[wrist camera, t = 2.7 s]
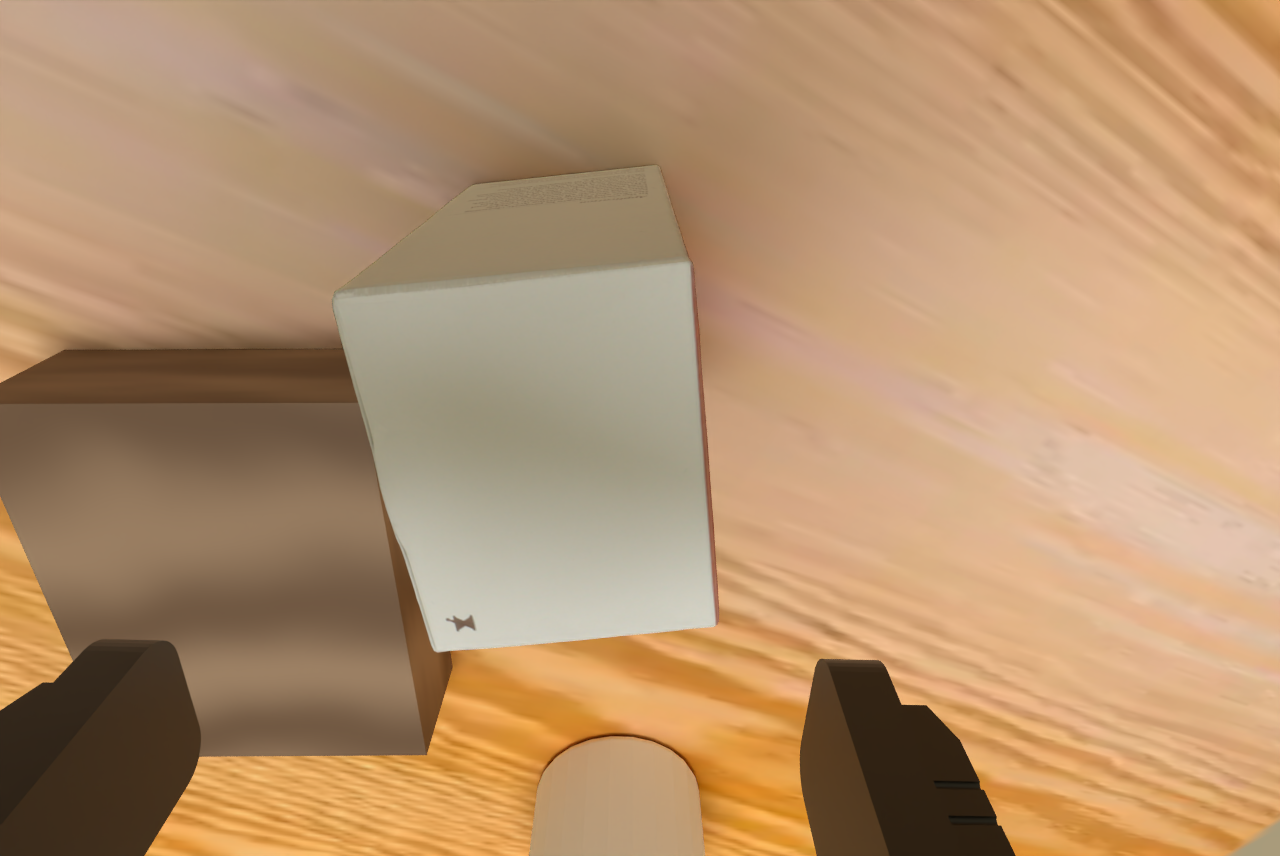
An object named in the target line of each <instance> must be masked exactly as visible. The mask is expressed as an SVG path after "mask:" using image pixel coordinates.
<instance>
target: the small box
mask: <svg viewBox="0 0 1280 856" xmlns="http://www.w3.org/2000/svg"><path fill="white" fill-rule="evenodd" d="M332 306H333V312H334V315H335V319H336V322H337V326H338V330H339V334H340V338H341V342H342V346H343V349H344V353H345V356H346V360H347V363H348V367H349V371H350V375H351V378H352V382H353V386H354V390H355V393H356V396H357V400H358V403H359V406H360V410H361V414H362V417H363V421H364V424H365V428H366V432H367V435H368V439H369V442H370V446H371V449H372V453H373V458H374V462H375V467H376V471H377V476H378V481H379V485H380V490H381V493H382V496H383V500H384V503H385V507H386V510H387V513H388V516H389V519H390V521H391V525H392V528H393V531H394V534H395V536H396V539H397V541H398V543H399V545H400V548H401V551H402V553H403V556H404V559H405V562H406V565H407V569H408V572H409V575H410V578H411V581H412V584H413V587H414V591H415V595H416V598H417V601H418V604H419V607H420V610H421V613H422V616H423V619H424V623H425V626H426V630H427V633H428V636H429V640H430V643H431V646H432V648H433V650H434V651H436V652H445V651H455V650H470V649H486V648H499V647H511V646H523V645H534V644H545V643H555V642H566V641H577V640H588V639H597V638H608V637H616V636H626V635H637V634H649V633H658V632H668V631H677V630H684V629H694V628H707V627H715V626H716V625H717V624H718V622H719V601H718V584H717V570H716V556H715V540H714V523H713V511H712V499H711V486H710V472H709V456H708V442H707V429H706V416H705V404H704V392H703V380H702V368H701V353H700V334H699V322H698V312H697V301H696V291H695V279H694V268H693V263H692V261H691V260H690V258H689V256H688V252H687V250H686V246H685V244H684V241H683V237H682V234H681V231H680V228H679V226H678V223H677V219H676V216H675V213H674V210H673V207H672V204H671V201H670V197H669V194H668V191H667V188H666V185H665V182H664V178H663V175H662V171H661V168H660V166H658V165H650V166H641V167H632V168H623V169H613V170H604V171H595V172H586V173H576V174H567V175H557V176H548V177H538V178H529V179H520V180H510V181H501V182H492V183H482V184H475V185H472V186H470V187H468V188H467V189H466V190H464V191H463V192H462V193H460V194H459V195H458V196H456V197H455V198H454V199H453V200H451V201H450V202H449V203H447V204H446V205H445V206H444V207H443V208H441V209H440V210H439V211H437V212H436V213H435V214H434V215H433V216H431V217H430V218H429V219H428V220H427V221H426V222H424V223H423V224H422V225H421V226H419V227H418V228H417V229H415V230H414V231H413V232H412V233H410V234H409V235H408V236H406V237H405V238H404V239H402V240H401V241H400V242H399V243H397V244H396V245H395V246H394V247H393V248H391V249H390V250H389V251H388V252H386V253H385V254H384V255H383V256H381V257H380V258H379V259H378V260H377V261H375V262H374V263H373V264H372V265H370V266H369V267H368V268H366V269H365V270H363V271H362V272H361V273H360V274H359V275H357V276H356V277H355V278H353V279H352V280H351V281H349V282H348V283H347V284H345V285H344V286H342V287H341V288H339V289H338V290H337V291H335V292H334V295H333V298H332Z"/></svg>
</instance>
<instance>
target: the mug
mask: <svg viewBox="0 0 1280 856" xmlns="http://www.w3.org/2000/svg"><path fill="white" fill-rule="evenodd" d="M529 856H705V849H704V838H703V828H702V817H701V807H700V796H699V789H698V785H697V781H696V778H695V776H694V774H693V773H692V771H691V770H690V768H689V767H688V765H687V764H686V763H685V761H684V760H683V759H682V758H681V757H679V756H678V755H677V754H675V753H674V752H673V751H672V750H670V749H668V748H666V747H664V746H662V745H660V744H657V743H655V742H653V741H649V740H644V739H640V738H635V737H621V736H609V737H603V738H597V739H591V740H588V741H585V742H582V743H580V744H577V745H574V746H572V747H570V748H569V749H567V750H566V751H564V752H563V753H561V754H560V755H558V756H557V757H556V758H555V759H554V760H553V761H552V762H551V764H550V765H549V766H548V767H547V768H546V770H545V771H544V772H543V775H542V777H541V780H540V782H539V785H538V788H537V796H536V804H535V812H534V820H533V828H532V836H531V844H530V852H529Z"/></svg>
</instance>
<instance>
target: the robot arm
mask: <svg viewBox="0 0 1280 856" xmlns="http://www.w3.org/2000/svg"><path fill="white" fill-rule="evenodd" d="M200 747H201V730H200V726H199V722H198V719H197V716H196V712H195V709H194V706H193V702H192V699H191V696H190V692H189V689H188V686H187V682H186V679H185V676H184V672H183V669H182V666H181V662H180V659H179V656H178V653H177V650H176V648H175V647H174V645H172V644H171V643H170V642H168V641H163V640H123V639H101V640H98V641H95V642H93V643H92V644H90V645H89V646H88V647H87V648H86V649H85V650H83V651H82V653H81V654H80V655H79V656H78V657H77V658H76V659H75V660H74V661H73V662H72V663H71V664H70V665H69V666H68V668H67V669H66V670H65V671H64V672H63V673H62V674H61V675H60V676H59V677H58V678H57V679H56V680H55V681H54V683H42V684H40V685H39V686H37V687H36V688H34V689H32V690H31V691H29V692H28V693H26V694H25V695H23V696H22V697H20V698H19V699H17V700H16V701H14V702H13V703H11V704H10V705H8V706H7V707H5V708H4V709H2V710H1V711H0V856H144V855H145V854H146V852H147V850H148V849H149V847H150V846H151V844H152V842H153V841H154V839H155V837H156V836H157V834H158V833H159V831H160V829H161V828H162V826H163V824H164V823H165V821H166V820H167V818H168V816H169V815H170V813H171V811H172V810H173V808H174V807H175V805H176V803H177V802H178V800H179V798H180V797H181V795H182V794H183V792H184V790H185V789H186V787H187V785H188V784H189V782H190V780H191V778H192V776H193V774H194V771H195V768H196V766H197V762H198V759H199V754H200ZM800 775H801V785H802V792H803V797H804V802H805V806H806V811H807V815H808V819H809V824H810V828H811V832H812V836H813V841H814V845H815V849H816V854H817V856H1015V854H1014V851H1013V849H1012V847H1011V845H1010V843H1009V841H1008V839H1007V837H1006V835H1005V833H1004V831H1003V829H1002V827H1001V826H998V824H997V821H996V817H997V816H996V814H995V812H994V810H993V808H992V806H991V804H990V802H989V800H988V798H987V795H986V793H985V791H984V790H981V789H980V781H979V779H978V777H977V775H976V773H975V771H974V769H973V766H972V764H971V762H970V760H969V758H968V756H967V754H966V752H965V750H964V748H963V746H962V744H961V742H960V740H959V739H958V738H957V737H956V736H955V735H954V734H953V733H952V732H951V731H950V730H949V728H948V727H947V726H946V725H945V724H944V723H943V722H942V721H941V720H940V719H939V718H938V717H937V716H936V715H935V714H934V713H933V712H932V711H931V710H930V709H929V708H928V707H927V706H926V705H901V702H900V700H899V698H898V695H897V693H896V691H895V688H894V686H893V683H892V681H891V679H890V676H889V674H888V672H887V669H886V667H885V666H884V664H883V663H882V662H881V661H878V660H843V659H820V660H819V661H818V662H817V665H816V667H815V672H814V677H813V682H812V688H811V693H810V698H809V704H808V709H807V714H806V720H805V725H804V730H803V736H802V741H801V749H800Z"/></svg>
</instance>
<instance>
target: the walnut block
mask: <svg viewBox="0 0 1280 856" xmlns="http://www.w3.org/2000/svg"><path fill="white" fill-rule="evenodd" d="M0 497H1V499H2V501H3V503H4V506H5V508H6V510H7V512H8V515H9V517H10V519H11V521H12V524H13V526H14V528H15V531H16V533H17V535H18V537H19V540H20V542H21V544H22V546H23V549H24V551H25V553H26V555H27V558H28V560H29V562H30V564H31V567H32V569H33V571H34V574H35V576H36V578H37V580H38V583H39V585H40V587H41V589H42V592H43V594H44V596H45V598H46V601H47V603H48V605H49V607H50V610H51V612H52V614H53V616H54V619H55V621H56V623H57V626H58V628H59V630H60V632H61V635H62V637H63V639H64V641H65V644H66V646H67V648H68V650H69V653H70V655H71V657H72V659H73V661H74V660H75V659H76V658H77V657H78V656H79V655H80V654H81V653H82V651H83V650H85V649H86V648H87V647H88V646H89V645H90V644H92V643H93V642H95V641H98V640H101V639H123V640H163V641H168V642H170V643H171V644H172V645H174V647H175V648H176V650H177V653H178V656H179V659H180V662H181V666H182V669H183V672H184V676H185V679H186V682H187V686H188V689H189V692H190V696H191V699H192V702H193V706H194V709H195V712H196V716H197V719H198V722H199V726H200V730H201V747H200V754H199V757H202V756H357V755H427V752H428V748H429V745H430V741H431V738H432V735H433V731H434V728H435V725H436V721H437V718H438V714H439V711H440V708H441V704H442V701H443V698H444V694H445V691H446V688H447V684H448V681H449V677H450V674H451V671H452V661H451V654H450V651H445V652H436V651H434V650H433V648H432V646H431V643H430V640H429V636H428V633H427V630H426V626H425V623H424V619H423V616H422V613H421V610H420V607H419V604H418V601H417V598H416V595H415V591H414V587H413V584H412V581H411V578H410V575H409V572H408V569H407V565H406V562H405V559H404V556H403V553H402V551H401V548H400V545H399V543H398V541H397V539H396V536H395V534H394V531H393V528H392V525H391V521H390V519H389V516H388V513H387V510H386V507H385V503H384V500H383V496H382V493H381V490H380V485H379V481H378V476H377V471H376V467H375V462H374V458H373V453H372V449H371V446H370V442H369V439H368V435H367V432H366V428H365V424H364V421H363V417H362V414H361V410H360V406H359V403H358V400H357V396H356V393H355V390H354V386H353V382H352V378H351V375H350V371H349V367H348V363H347V360H346V356H345V353H344V349H171V350H64V351H62V352H60V353H58V354H56V355H54V356H52V357H50V358H48V359H46V360H44V361H42V362H40V363H38V364H36V365H34V366H32V367H31V368H29V369H27V370H25V371H23V372H21V373H19V374H17V375H15V376H13V377H11V378H9V379H7V380H5V381H3V382H1V383H0Z"/></svg>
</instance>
